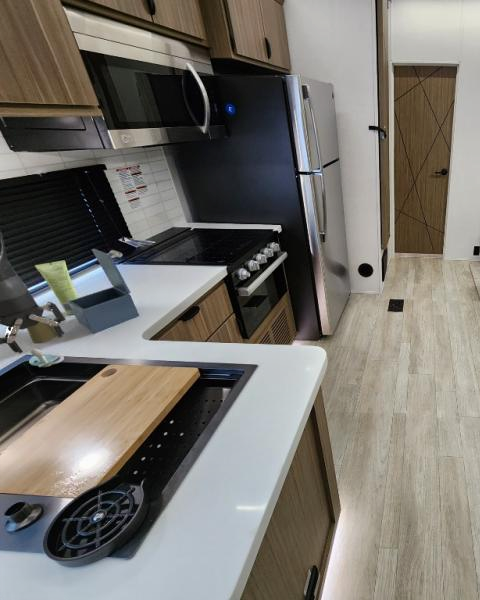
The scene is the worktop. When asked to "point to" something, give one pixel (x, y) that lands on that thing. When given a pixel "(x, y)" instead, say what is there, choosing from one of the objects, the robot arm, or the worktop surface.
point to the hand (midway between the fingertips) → (40, 343)
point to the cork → (41, 332)
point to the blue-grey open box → (103, 309)
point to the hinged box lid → (111, 268)
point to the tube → (59, 282)
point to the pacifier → (43, 358)
